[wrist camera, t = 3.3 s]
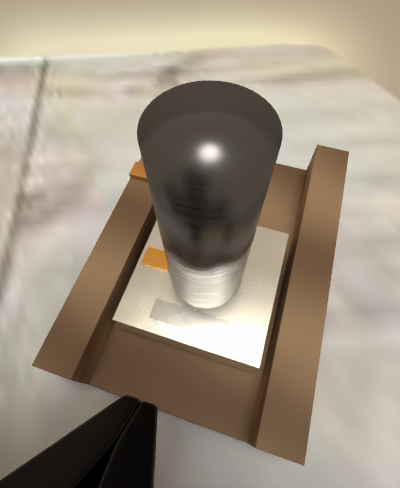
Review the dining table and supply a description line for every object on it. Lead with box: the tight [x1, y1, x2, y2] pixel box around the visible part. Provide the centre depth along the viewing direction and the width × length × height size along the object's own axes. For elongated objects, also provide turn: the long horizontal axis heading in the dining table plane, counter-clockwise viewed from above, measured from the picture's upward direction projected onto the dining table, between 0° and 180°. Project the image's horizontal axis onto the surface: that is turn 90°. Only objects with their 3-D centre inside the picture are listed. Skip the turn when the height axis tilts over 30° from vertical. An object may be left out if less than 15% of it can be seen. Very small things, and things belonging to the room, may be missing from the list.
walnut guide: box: [32, 145, 349, 466], centre depth 15 cm, size 14×10×3 cm
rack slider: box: [112, 81, 289, 373], centre depth 11 cm, size 6×6×10 cm
